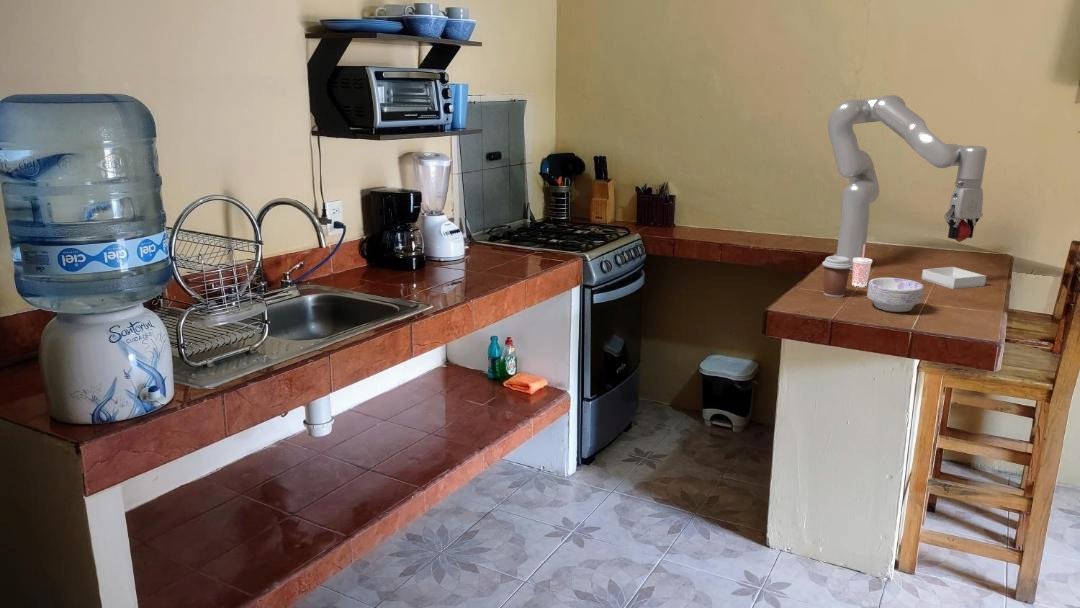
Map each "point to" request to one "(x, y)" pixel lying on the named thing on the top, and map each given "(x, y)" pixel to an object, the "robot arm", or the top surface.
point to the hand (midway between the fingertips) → (960, 237)
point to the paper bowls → (895, 293)
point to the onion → (963, 230)
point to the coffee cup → (836, 275)
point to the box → (953, 277)
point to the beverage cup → (861, 270)
